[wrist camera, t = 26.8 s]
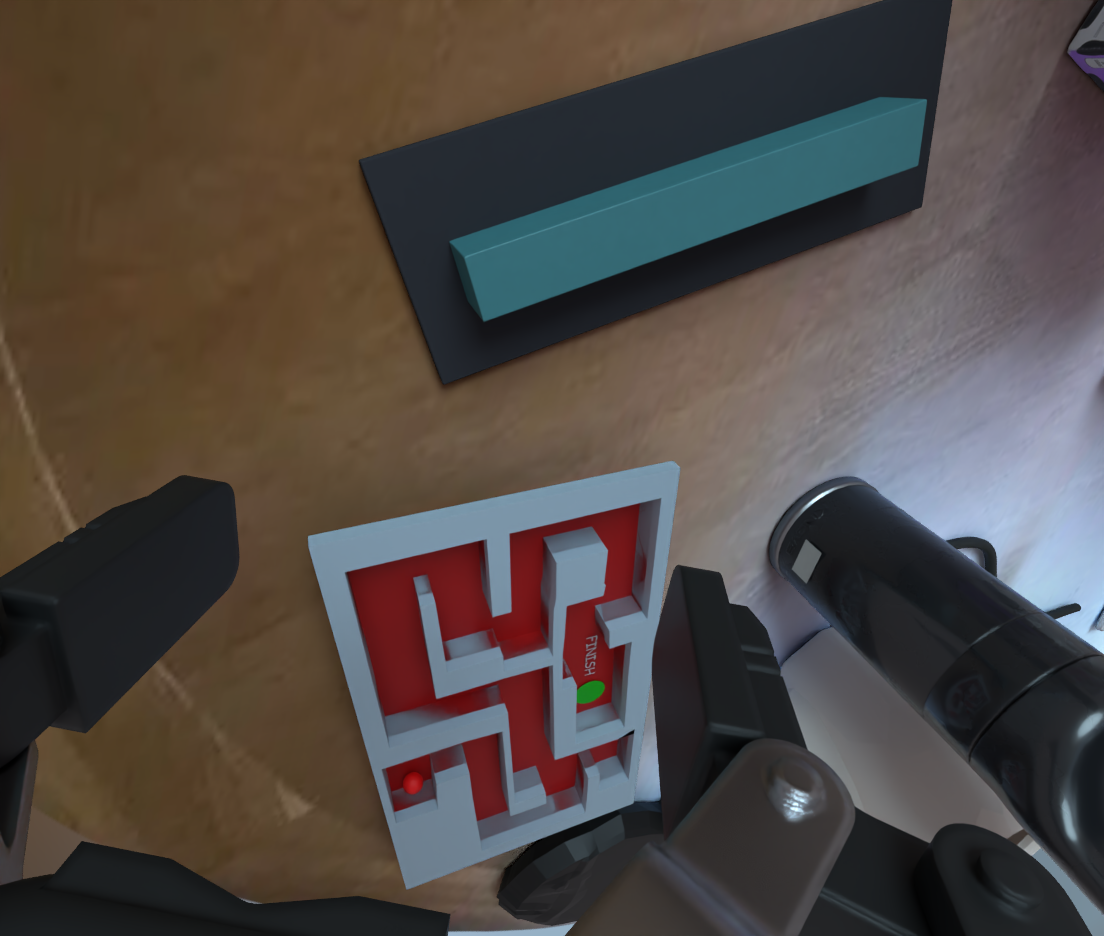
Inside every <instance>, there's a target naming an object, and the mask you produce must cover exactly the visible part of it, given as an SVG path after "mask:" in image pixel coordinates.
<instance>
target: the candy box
mask: <svg viewBox="0 0 1104 936" xmlns="http://www.w3.org/2000/svg"><path fill="white" fill-rule="evenodd" d="M1068 54H1069V55H1070V56H1071V57H1072V58H1073V60H1074V61H1075V62H1076V63H1077V64H1078V65H1079V67H1080V68H1081V69H1082V70H1083V71H1084V72H1086V73H1087V74H1088V75H1089V76H1090V77H1091V78H1092V79H1093V80H1094V81H1095V83H1096V84H1097V85H1098V86H1099V87H1100V89H1101V90H1103V92H1104V0H1098V2H1097V3H1096V5H1095V6H1094V8H1093V9H1092V11H1091V12H1090V14H1089V15H1088V17H1087V18H1086V20H1085V22H1084V23H1083V25H1082V26H1081V28H1080V29H1079V31H1078V33H1077V34H1076V36H1075V37H1074V39H1073V40H1072V42H1071V44H1070V46H1069V48H1068Z"/></svg>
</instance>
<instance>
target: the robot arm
mask: <svg viewBox="0 0 1104 936" xmlns="http://www.w3.org/2000/svg"><path fill="white" fill-rule="evenodd" d="M961 548H979V549H981V550H982V551H983V553H984V558H985V569H984V568H982V567H981V566H979V565H978V564H977V563H975V562H974V561H972V560H971V559H970V558H968V557H967V556H965V555H964V554H963V553H961V552H960V551H959V550H957V549H961ZM769 557H770V562H771V564H772V566H773V568H774V569H775V570H776V571H777V572H778V573H779V574H780V575H781V576H782V577H783V578H784V579H785V580H787V581H789V582H790V583H791V584H792V585H793V587H794V588H795V589H796V590H797V591H798V592H799V593H800V594H801V595H802V596H803V597H804V598H805V599H806V600H807V601H808V602H809V603H810V604H811V605H812V606H813V607H814V608H815V609H816V610H817V611H818V612H819V613H820V614H821V615H822V616H823V617H824V618H825V619H826V621H827V622H828V623H829V624H830V625H831V626H832V627H833V628H834V629H835V630H836V631H837V632H838V633H839V634H840V635H841V636H842V637H843V638H844V639H845V640H846V641H847V642H848V643H849V644H850V645H851V646H852V647H853V648H854V649H855V650H856V651H857V652H858V653H859V654H860V655H861V656H862V657H863V658H864V659H865V660H866V661H867V662H868V663H869V664H870V665H871V666H872V667H873V668H874V669H875V670H876V671H877V673H878V674H879V675H880V676H881V677H882V678H883V679H884V680H885V681H886V682H887V683H888V684H889V685H890V686H891V687H892V688H893V689H894V690H895V691H896V692H897V693H898V694H899V695H900V696H901V697H902V698H903V699H904V700H905V701H906V702H907V703H908V704H909V705H910V706H911V707H912V708H913V709H914V710H915V711H916V712H917V713H918V714H919V715H920V716H921V717H922V718H923V719H924V720H925V721H926V722H927V723H928V724H929V725H930V726H931V727H932V728H933V729H934V730H935V731H936V732H937V733H938V734H939V735H940V736H941V737H942V738H943V739H944V740H945V741H946V743H947V744H948V745H949V746H950V747H951V748H952V749H953V750H954V751H955V752H956V753H957V754H958V755H959V756H960V757H961V758H962V759H963V760H964V761H965V762H966V763H967V764H968V765H969V766H970V767H971V768H972V769H973V770H974V771H975V772H976V773H977V774H978V775H979V776H980V777H981V779H982V780H983V781H984V782H985V783H986V784H987V785H988V786H989V787H990V788H991V789H992V790H993V791H994V793H995V794H996V795H997V796H998V798H999V799H1000V800H1001V801H1002V803H1003V804H1004V806H1005V807H1006V808H1007V809H1008V811H1009V812H1010V813H1011V814H1012V816H1013V817H1014V818H1015V820H1016V821H1017V822H1018V823H1019V824H1020V825H1021V827H1022V828H1023V829H1024V830H1025V831H1026V832H1027V833H1028V835H1029V836H1030V837H1031V838H1032V839H1033V840H1034V841H1035V842H1036V843H1037V844H1038V845H1039V846H1040V847H1041V848H1042V849H1043V850H1044V852H1045V853H1046V854H1047V855H1048V856H1049V857H1050V858H1051V859H1052V860H1053V861H1054V862H1055V863H1056V864H1057V865H1058V866H1059V867H1060V868H1061V869H1062V870H1063V872H1064V873H1065V874H1066V875H1067V876H1068V877H1069V878H1070V879H1071V880H1072V882H1073V883H1074V884H1075V885H1076V886H1077V887H1078V888H1079V889H1080V890H1081V892H1082V893H1083V894H1084V895H1085V896H1086V897H1087V898H1088V899H1089V900H1090V901H1091V903H1092V904H1093V905H1094V906H1095V907H1096V908H1097V909H1098V910H1099V911H1100V912H1101V914H1102V915H1103V916H1104V654H1102V653H1101V652H1100V651H1098V650H1097V649H1096V648H1094V647H1093V646H1091V645H1090V644H1089V643H1087V642H1086V641H1084V640H1083V639H1082V638H1080V637H1079V636H1077V635H1076V634H1075V633H1073V632H1072V631H1070V630H1069V629H1068V628H1066V627H1065V626H1063V625H1062V624H1061V623H1059V622H1058V621H1056V620H1055V619H1057V618H1060V617H1063V616H1065V615H1068V614H1071V613H1074V612H1077V611H1080V610H1081V606H1080V605H1079V604H1077V603H1074V604H1070V605H1067V606H1064V607H1061V608H1059V609H1056V610H1053V611H1050V612H1047V613H1045V612H1043V611H1042V610H1041V609H1039V608H1038V607H1036V606H1035V605H1034V604H1032V603H1031V602H1029V601H1028V600H1027V599H1025V598H1024V597H1023V596H1021V595H1020V594H1018V593H1017V592H1016V591H1014V590H1013V589H1011V588H1010V587H1009V586H1007V585H1006V584H1004V583H1003V582H1002V581H1000V580H999V579H997V557H996V552H995V549H994V548H993V546H992V545H991V544H990V543H989V542H988V541H986V540H984V539H980V538H977V537H963V538H957V539H952V540H948V541H945V540H943V539H942V538H940V537H939V536H938V535H936V534H935V533H934V532H932V531H931V530H929V529H928V528H927V527H925V526H924V525H922V524H921V523H920V522H918V521H917V520H915V519H914V518H913V517H911V516H910V515H908V514H907V513H906V512H905V511H903V510H902V509H900V508H899V507H898V506H896V505H895V504H893V503H892V502H891V501H889V500H888V499H887V498H885V497H884V496H882V495H881V494H880V493H879V492H878V491H877V490H876V489H875V488H874V487H872V486H871V485H869V484H868V483H867V482H865V481H864V480H862V479H860V478H856V477H841V478H836V479H833V480H830V481H828V482H825V483H823V484H821V485H819V486H817V487H816V488H814V489H812V490H811V491H809V492H808V493H807V494H805V495H804V496H803V497H802V498H800V499H799V500H798V501H797V502H796V503H795V504H794V505H793V506H792V507H791V508H790V509H789V510H788V512H787V513H786V514H785V515H784V517H783V518H782V520H781V521H780V523H779V524H778V526H777V528H776V530H775V532H774V534H773V537H772V539H771V543H770V548H769ZM238 566H239V545H238V532H237V520H236V508H235V497H234V492H233V489H232V487H231V486H230V485H229V484H228V483H225V482H220V481H215V480H209V479H203V478H198V477H192V476H187V475H182V476H179V477H177V478H175V479H174V480H172V481H171V482H169V483H167V484H166V485H164V486H163V487H161V488H160V489H158V490H156V491H155V492H153V493H152V494H150V495H149V496H147V497H143V498H140V499H137V500H134V501H132V502H129V503H126V504H123V505H120V506H117V507H114V508H112V509H110V510H109V511H107V512H105V513H104V514H102V515H101V516H99V517H97V518H96V519H94V520H92V521H91V522H89V523H88V524H86V527H85V528H79V529H78V530H76V531H75V532H73V533H71V534H70V535H68V536H67V537H65V538H64V541H63V542H59V541H58V542H57V543H55V544H54V545H52V546H50V547H49V548H47V549H45V550H44V551H42V552H41V553H39V554H37V555H36V556H34V557H33V558H31V559H29V560H28V561H26V562H24V563H23V564H21V565H20V566H18V567H16V568H15V569H13V570H12V571H10V572H8V573H7V574H5V575H3V576H2V577H0V936H448V929H449V921H450V914H447V913H442V912H437V911H432V910H427V909H422V908H417V907H412V906H406V905H401V904H396V903H391V902H386V901H381V900H376V899H371V898H366V897H361V896H353V897H341V898H328V899H316V900H304V901H291V902H279V903H267V904H253V903H248V902H246V901H243V900H241V899H239V898H238V897H236V896H234V895H233V894H231V893H229V892H227V891H226V890H224V889H222V888H220V887H219V886H217V885H215V884H214V883H212V882H210V881H208V880H207V879H205V878H203V877H202V876H200V875H198V874H196V873H195V872H193V871H191V870H189V869H188V868H186V867H184V866H183V865H181V864H179V863H177V862H176V861H174V860H172V859H169V858H164V857H159V856H154V855H149V854H144V853H139V852H134V851H129V850H124V849H119V848H114V847H109V846H104V845H99V844H94V843H88V842H84V841H82V842H81V843H80V844H79V845H78V846H77V848H76V849H75V850H74V851H73V852H72V854H71V855H70V856H69V857H68V858H67V860H66V861H65V862H64V863H63V864H62V866H61V867H60V868H59V869H58V870H57V872H56V873H55V874H49V875H43V876H38V877H32V878H27V879H23V865H24V856H25V850H26V842H27V834H28V828H29V821H30V814H31V806H32V799H33V792H34V785H35V778H36V770H37V763H38V748H37V745H36V741H35V739H36V738H37V737H38V736H39V735H40V734H41V733H42V732H43V731H44V730H45V729H47V728H48V727H49V726H51V727H56V728H61V729H67V730H72V731H77V732H82V733H87V732H88V731H89V730H90V729H91V728H92V727H93V726H94V725H95V724H96V723H97V722H98V721H99V720H100V719H101V718H102V717H103V715H104V714H105V713H106V712H107V711H108V710H109V709H110V708H111V707H112V706H113V705H114V704H115V703H116V702H117V701H118V700H119V699H120V698H121V697H122V696H123V695H124V694H125V693H126V692H127V691H128V690H129V689H130V688H131V687H132V686H133V685H134V684H135V683H136V682H137V681H138V680H139V679H140V678H141V677H142V676H143V675H144V674H145V673H146V672H147V671H148V670H149V669H150V668H151V667H152V666H153V665H154V664H155V663H156V662H157V661H158V660H159V659H160V658H161V657H162V656H163V655H164V654H165V653H166V652H167V651H168V650H169V649H170V648H171V647H172V646H173V645H174V644H175V643H176V642H177V641H178V640H179V639H180V638H181V637H182V636H183V635H184V634H185V633H186V632H187V631H188V630H189V629H190V628H191V627H192V626H193V625H194V623H195V622H196V621H197V620H198V619H199V618H200V617H201V616H202V615H203V614H204V613H205V612H206V611H207V610H208V609H209V608H210V607H211V606H212V605H213V604H214V603H215V602H216V601H217V600H218V599H219V598H220V597H221V596H222V595H223V594H224V593H225V592H226V591H227V590H228V589H229V587H230V586H231V584H232V582H233V581H234V578H235V576H236V573H237V570H238ZM780 673H781V670H780V667H779V664H778V662H777V659H776V656H774V650H773V647H772V644H771V641H770V638H769V635H768V633H767V630H766V628H765V627H764V626H763V624H762V623H761V622H760V621H759V620H758V619H757V617H756V616H755V615H754V614H753V613H752V612H751V610H750V609H749V608H748V607H747V606H741V605H736V604H730V603H729V600H728V596H727V593H726V589H725V585H724V582H723V578H722V575H721V574H720V573H719V572H715V571H709V570H703V569H698V568H692V567H687V566H681V565H677V566H676V567H675V569H674V571H673V574H672V577H671V581H670V585H669V588H668V592H667V595H666V599H665V602H664V606H663V610H662V613H661V617H660V620H659V624H658V628H657V631H656V635H655V640H654V645H653V653H652V681H653V695H654V709H655V722H656V736H657V750H658V764H659V777H660V791H661V805H662V818H663V832H664V842H663V843H662V844H661V845H660V846H659V845H658V844H656V843H655V842H654V841H650V842H648V843H647V844H645V845H644V846H643V847H642V848H641V849H640V850H639V851H638V852H637V853H636V854H635V855H634V856H633V857H632V858H631V859H630V861H629V862H628V863H627V864H626V865H625V866H624V868H623V869H622V870H621V871H620V872H619V873H618V874H617V876H616V877H615V878H614V879H613V880H612V881H611V883H610V884H609V885H608V886H607V887H606V888H605V890H604V891H603V892H602V893H601V894H600V895H599V897H598V898H597V899H596V900H595V901H594V902H593V903H592V905H591V906H590V907H589V908H588V909H587V910H586V912H585V913H584V914H583V915H582V916H581V917H580V919H579V920H578V921H577V922H576V923H575V924H574V925H573V927H572V928H571V929H570V930H569V931H568V932H567V934H566V935H565V936H1092V934H1091V933H1090V931H1089V930H1088V928H1087V926H1086V924H1085V923H1084V921H1083V919H1082V918H1081V916H1080V914H1079V913H1078V911H1077V909H1076V907H1075V906H1074V904H1073V902H1072V901H1071V899H1070V898H1069V896H1068V895H1067V893H1066V892H1065V890H1064V889H1063V888H1062V887H1061V885H1060V884H1059V883H1058V882H1057V880H1056V879H1055V878H1054V877H1053V876H1052V875H1051V874H1050V873H1049V872H1048V871H1047V870H1046V869H1045V868H1044V867H1043V866H1042V865H1041V864H1040V863H1039V862H1038V861H1037V860H1036V859H1034V858H1033V857H1032V856H1031V855H1030V854H1028V853H1027V852H1026V851H1024V850H1023V849H1022V848H1020V847H1019V846H1017V845H1016V844H1014V843H1013V842H1011V841H1010V840H1008V839H1006V838H1004V837H1002V836H1001V835H999V834H997V833H995V832H992V831H990V830H988V829H985V828H982V827H979V826H976V825H971V824H965V823H954V824H949V825H946V826H944V827H942V828H941V829H940V830H939V831H938V832H937V833H936V835H935V836H934V838H933V839H932V841H931V842H930V843H928V842H926V841H924V840H922V839H920V838H917V837H915V836H913V835H911V834H909V833H907V832H904V831H902V830H900V829H898V828H896V827H894V826H892V825H889V824H887V823H885V822H883V821H881V820H879V819H876V818H874V817H873V816H871V815H869V814H867V813H865V812H863V811H862V810H860V809H859V808H857V807H855V806H854V803H853V800H852V797H851V795H850V793H849V791H848V789H847V787H846V785H845V784H844V783H843V781H842V780H841V778H840V777H839V776H838V775H837V774H836V772H835V771H834V770H833V769H832V768H831V767H830V766H829V765H828V764H826V763H825V762H824V761H823V760H822V759H820V758H819V757H818V756H816V755H815V754H813V753H812V752H810V751H808V749H807V746H806V743H805V740H804V737H803V734H802V731H801V728H800V725H799V723H798V720H797V717H796V714H795V711H794V708H793V705H792V702H791V699H790V696H789V694H788V691H787V688H786V685H785V682H784V679H783V676H780Z"/></svg>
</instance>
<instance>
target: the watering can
mask: <svg viewBox="0 0 1104 936" xmlns="http://www.w3.org/2000/svg"><path fill="white" fill-rule="evenodd" d="M780 676H783V679H784V682H785V685H786V688H787V691H788V694H789V696H790V699H791V702H792V705H793V708H794V711H795V714H796V717H797V720H798V723H799V725H800V728H801V731H802V734H803V737H804V740H805V743H806V746H807V749H808V751H810V752H812V753H813V754H815V755H816V756H818V757H819V758H820V759H822V760H823V761H824V762H825V763H826V764H828V765H829V766H830V767H831V768H832V769H833V770H834V771H835V772H836V774H837V775H838V776H839V777H840V778H841V780H842V781H843V783H844V784H845V785H846V787H847V789H848V791H849V793H850V795H851V797H852V800H853V803H854V806H855V807H857V808H859V809H860V810H862V811H863V812H865V813H867V814H869V815H871V816H873V817H874V818H876V819H879V820H881V821H883V822H885V823H887V824H889V825H892V826H894V827H896V828H898V829H900V830H902V831H904V832H907V833H909V834H911V835H913V836H915V837H917V838H920V839H922V840H924V841H926V842H928V843H930V842H931V841H932V839H933V838H934V836H935V835H936V833H937V832H938V831H939V830H940V829H941V828H942V827H944V826H946V825H949V824H954V823H965V824H971V825H976V826H979V827H982V828H985V829H988V830H990V831H992V832H995V833H997V834H999V835H1001V836H1002V837H1004V838H1006V839H1008V840H1010V841H1011V842H1013V843H1014V844H1016V845H1017V846H1019V847H1020V848H1022V849H1023V850H1024V851H1026V852H1027V853H1028V854H1030V855H1031V856H1032V855H1033V854H1035V853H1036V852H1037V851H1038V850H1039V849H1040V848H1041V847H1040V846H1039V845H1038V844H1037V843H1036V842H1035V841H1034V840H1033V839H1032V838H1031V837H1030V836H1029V835H1028V833H1027V832H1026V831H1025V830H1024V829H1023V828H1022V827H1021V825H1020V824H1019V823H1018V822H1017V821H1016V820H1015V818H1014V817H1013V816H1012V814H1011V813H1010V812H1009V811H1008V809H1007V808H1006V807H1005V806H1004V804H1003V803H1002V801H1001V800H1000V799H999V798H998V796H997V795H996V794H995V793H994V791H993V790H992V789H991V788H990V787H989V786H988V785H987V784H986V783H985V782H984V781H983V780H982V779H981V777H980V776H979V775H978V774H977V773H976V772H975V771H974V770H973V769H972V768H971V767H970V766H969V765H968V764H967V763H966V762H965V761H964V760H963V759H962V758H961V757H960V756H959V755H958V754H957V753H956V752H955V751H954V750H953V749H952V748H951V747H950V746H949V745H948V744H947V743H946V741H945V740H944V739H943V738H942V737H941V736H940V735H939V734H938V733H937V732H936V731H935V730H934V729H933V728H932V727H931V726H930V725H929V724H928V723H927V722H926V721H925V720H924V719H923V718H922V717H921V716H920V715H919V714H918V713H917V712H916V711H915V710H914V709H913V708H912V707H911V706H910V705H909V704H908V703H907V702H906V701H905V700H904V699H903V698H902V697H901V696H900V695H899V694H898V693H897V692H896V691H895V690H894V689H893V688H892V687H891V686H890V685H889V684H888V683H887V682H886V681H885V680H884V679H883V678H882V677H881V676H880V675H879V674H878V673H877V671H876V670H875V669H874V668H873V667H872V666H871V665H870V664H869V663H868V662H867V661H866V660H865V659H864V658H863V657H862V656H861V655H860V654H859V653H858V652H857V651H856V650H855V649H854V648H853V647H852V646H851V645H850V644H849V643H848V642H847V641H846V640H845V639H844V638H843V637H842V636H841V635H840V634H839V633H838V632H837V631H836V630H835V629H834V628H833V627H831V628H828V629H824V630H822V631H820V632H819V633H818V634H817V635H815V636H814V637H813V638H812V639H811V640H810V641H809V642H807V643H806V644H805V645H804V646H803V647H802V648H800V649H799V650H798V651H797V652H796V653H794V654H793V655H792V656H791V657H790V658H788V659H787V660H786V661H785V662H784V663H783V665H782V668H781V673H780Z"/></svg>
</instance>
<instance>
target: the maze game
mask: <svg viewBox="0 0 1104 936" xmlns="http://www.w3.org/2000/svg"><path fill="white" fill-rule="evenodd" d="M679 475H680V467H679V466H678V465H677V464H676V463H675V462H674V461H669V462H664V463H659V464H654V465H650V466H645V467H640V468H635V469H630V470H625V471H621V472H616V473H611V474H606V475H601V476H596V477H592V478H587V479H582V480H577V481H572V482H567V483H563V484H558V485H553V486H548V487H543V488H538V489H533V490H529V491H524V492H519V493H514V494H509V495H504V496H500V497H495V498H490V499H485V500H480V501H475V502H471V503H466V504H461V505H456V506H451V507H446V508H442V509H437V510H432V511H427V512H422V513H417V514H413V515H408V516H403V517H398V518H393V519H388V520H384V521H379V522H374V523H369V524H364V525H359V526H354V527H350V528H345V529H340V530H335V531H330V532H325V533H321V534H316V535H311V536H308V547H309V551H310V554H311V558H312V561H313V565H314V568H315V572H316V575H317V579H318V582H319V585H320V589H321V592H322V596H323V599H324V603H325V606H326V610H327V613H328V617H329V620H330V624H331V627H332V631H333V634H334V638H335V641H336V645H337V648H338V652H339V655H340V659H341V662H342V666H343V669H344V673H345V676H346V680H347V683H348V687H349V690H350V694H351V697H352V701H353V704H354V708H355V711H356V715H357V718H358V722H359V725H360V729H361V732H362V736H363V739H364V743H365V746H366V750H367V753H368V757H369V760H370V764H371V767H372V771H373V774H374V778H375V781H376V784H377V788H378V791H379V795H380V798H381V802H382V805H383V809H384V812H385V816H386V819H387V823H388V826H389V830H390V833H391V837H392V840H393V844H394V847H395V851H396V854H397V858H398V861H399V865H400V868H401V872H402V875H403V879H404V882H405V886H406V889H407V890H408V889H410V888H413V887H415V886H418V885H421V884H423V883H426V882H429V881H431V880H434V879H436V878H439V877H442V876H444V875H447V874H450V873H452V872H455V871H457V870H460V869H463V868H465V867H468V866H471V865H473V864H476V863H478V862H481V861H484V860H486V859H489V858H492V857H494V856H497V855H499V854H502V853H505V852H507V851H510V850H512V849H515V848H518V847H520V846H523V845H526V844H528V843H531V842H533V841H536V840H539V839H541V838H544V837H547V836H549V835H552V834H554V833H557V832H560V831H562V830H565V829H568V828H570V827H573V826H575V825H578V824H581V823H583V822H586V821H589V820H591V819H594V818H596V817H599V816H602V815H604V814H607V813H610V812H612V811H615V810H617V809H620V808H623V807H625V806H628V805H631V804H633V803H634V796H635V789H636V782H637V775H638V768H639V761H640V753H641V746H642V739H643V732H644V725H645V718H646V710H647V703H648V696H649V689H650V682H651V675H652V653H653V645H654V640H655V635H656V631H657V628H658V624H659V618H660V610H661V603H662V596H663V589H664V582H665V575H666V568H667V560H668V553H669V546H670V539H671V532H672V525H673V517H674V510H675V503H676V496H677V489H678V482H679Z"/></svg>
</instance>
